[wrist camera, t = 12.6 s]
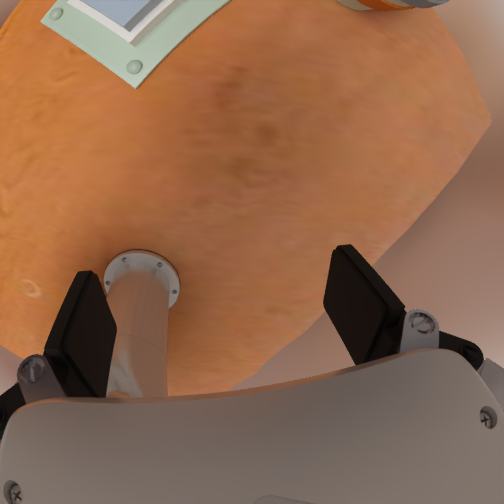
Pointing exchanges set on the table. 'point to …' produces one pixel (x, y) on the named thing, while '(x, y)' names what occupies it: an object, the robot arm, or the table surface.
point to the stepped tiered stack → (129, 30)
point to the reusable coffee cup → (389, 4)
